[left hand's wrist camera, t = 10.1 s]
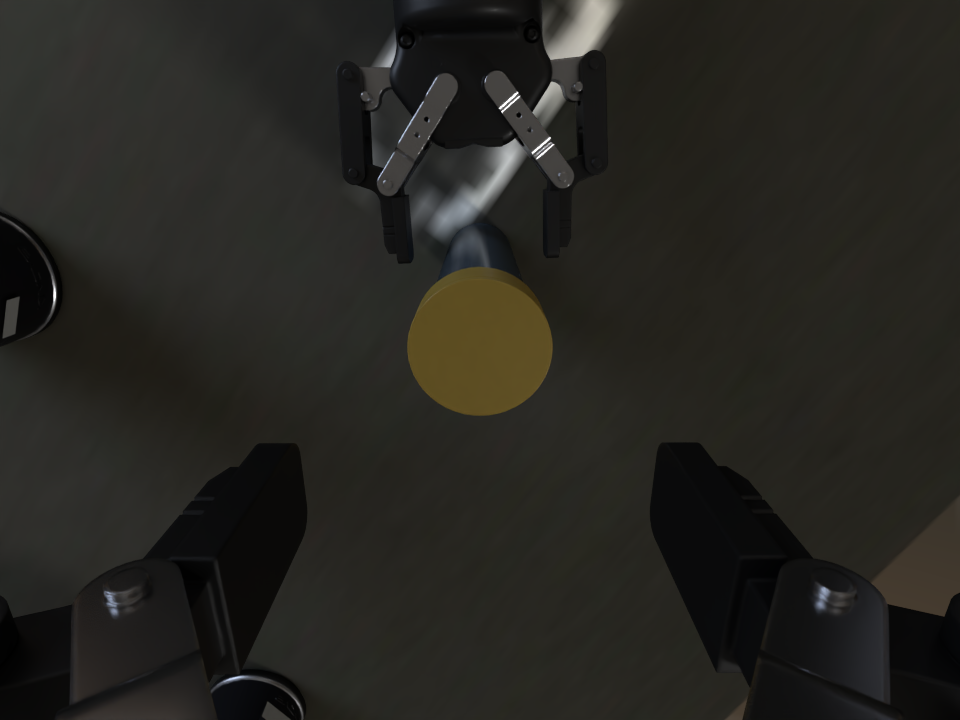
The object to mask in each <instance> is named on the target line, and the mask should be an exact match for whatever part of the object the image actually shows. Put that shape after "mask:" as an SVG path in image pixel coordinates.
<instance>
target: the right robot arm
mask: <svg viewBox="0 0 960 720" xmlns="http://www.w3.org/2000/svg"><path fill="white" fill-rule="evenodd" d="M393 5H394V17H395V29H396V41H397V48H396V55H395V58H394V61H393V64H392V66H391V68H384V67H358V66H357V65H355V64H354V63H352V62H350V61H344V62H342V63H341V64H339V66H338V67H337V70H336V79H337V94H338V110H339V125H340V141H341V157H342V172H343V177H344V179H345V180H346V181H347V182H348V183H349V184H352V185H358V186H361V187H364V188H367V189H370V190H372V191H374V192H375V193H376V194H377V195H378V197H379V199H380V203H381V213H382V223H383V233H384V242H385V247H386V249H387V251H388V252H389V254H395V253H397V260H398V263H399V264H402V263H411V262H412V260H413V257H414V252H413V240H412V228H411V216H410V204H409V195H405V192H404V187H405V185H406V184H407V182H408V180H409V179H410V177H411V176H412V174H413V172H414V171H415V169H416V167H417V166H418V164H419V163H420V162H421V160H422V159H423V157H424V156H425V154H426V153H427V151H428V149H429V148H430V146H431V145H432V143H433V142H434V143H435V144H437V145H438V146H441V147H444V148H445V149H459V148H463V147H466V146H469V145H472V144H477V145H481V146H485V147H502V146H503V145H505V144H507V143H509V142H511V141H512V140H513V139H514V138H515V139H516V140H517V142H518V143H519V144H520V146H521V147H522V148H523V150H524V151H525V152H526V153H527V155H528V156H529V157H530V158H531V159H532V161H533V162H534V163H535V165H536V166H537V167H538V169H539V170H540V171H541V173H542V174H543V175H544V177H545V178H546V179H547V189H543V252H544V255H545V257H546V258H558V257H559V247H567V246H568V244H569V241H570V239H571V195H572V190H573V188H574V186H575V185H576V184H577V183H578V182H579V181H581V180H584V179H586V178H589V177H591V176H593V175H598V174H601V173H603V172H604V171H605V169H606V168H607V165H608V145H607V99H606V60H605V57H604V55H603V54H602V53H601V52H600V51H598V50H592V51H589V52H588V53H586V54H585V55H584V56H581V57H573V58H564V59H555V60H550V58H549V57H548V55H547V53H546V50H545V47H544V43H543V36H542V0H393ZM550 82H556V83H557V84H559V85H560V87H561V89H562V92H563V96H564V98H565V99H566V100H567V101H569V102H575V105H576V130H577V155H578V156H576V157H574V158H571V159H569V160H567V161H566V160H565V159H564V158H563V156H562V155H561V153H560V152H559V151H558V149H557V148H556V147H555V145H554V144H553V142H552V140H551V138H550V137H549V135H548V134H547V132H546V131H545V130H544V128H543V127H542V125H541V124H540V123H539V121H538V120H537V119H536V117H535V116H534V114H533V113H532V112H533V110H534V108H535V107H536V105H537V104H538V102H539V101H540V99H541V97H542V96H543V94H544V93H545V91H546V89H547V88H548V86H549V84H550ZM390 89H393V91H394V93H395V94H396V96H397V97H398V98H399V100H400V101H401V102H402V103H403V105H404V106H405V107H406V109H407V110H408V111H409V113H410V114H411V115H412V117H413V119H412V120H411V122H410V124H409V125H408V127H407V129H406V130H405V132H404V134H403V135H402V137H401V139H400V140H399V142H398V144H397V146H396V148H395V151H394V153H393V155H392V156H391V158H390V160H389V161H388V163H387V165H386V166H385V168H381V167H378V166H375V165H373V160H372V139H371V117H370V112H374V111H377V110H378V109H379V108H380V106H381V104H382V97H383V95H384V93H385V92H386V91H388V90H390ZM61 302H62V282H61V277H60V273H59V270H58V268H57V265H56V263H55V261H54V259H53V257H52V255H51V254H50V252H49V251H48V249H47V248H46V246H45V245H44V244H43V243H42V241H41V240H40V239H39V238H38V237H37V236H36V235H35V234H34V233H33V232H32V231H31V230H30V229H28V228H27V227H26V226H25V225H23V224H22V223H20V222H19V221H17V220H15V219H14V218H12V217H10V216H8V215H6V214H4V213H1V212H0V347H1V346H4V345H6V344H9V343H11V342H14V341H18V340H22V339H25V338H28V337H31V336H33V335H35V334H38V333H40V332H41V331H43V330H44V329H46V328H47V327H48V326H49V325H50V324H51V323H52V322H53V320H54V319H55V318H56V316H57V314H58V312H59V309H60V306H61Z"/></svg>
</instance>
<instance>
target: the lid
mask: <svg viewBox="0 0 960 720" xmlns="http://www.w3.org/2000/svg"><path fill="white" fill-rule="evenodd" d="M552 350H553V348H552V336H551V331H550V328H549V325H548V322H547V319H546V317H545V314H544V312H543V310H542V307H541V305H540V303H539V301H538V299H537V298H536V296H535V295H534V293H533V292H532V291H531V290H530V288H529V287H528V286H527V285H526V284H524V283H523V282H522V281H521V280H519V279H518V278H516V277H515V276H513V275H511V274H509V273H507V272H505V271H502V270H499V269H494V268H489V267H471V268H466V269H461V270H458V271H456V272H453V273H451V274H449V275H447V276H445V277H444V278H442V279H441V280H439V281H438V282H437V283H436V284H434V285H433V286H432V287H431V288H430V290H429V291H428V292H427V293H426V295H425V296H424V298H423V299H422V301H421V303H420V305H419V307H418V310H417V312H416V315H415V317H414V319H413V322H412V324H411V328H410V331H409V336H408V358H409V363H410V366H411V369H412V372H413V374H414V376H415V378H416V380H417V382H418V383H419V385H420V386H421V387H422V389H423V390H424V391H425V392H426V393H427V394H428V395H429V396H430V397H431V398H432V399H434V400H435V401H436V402H437V403H439V404H441V405H442V406H444V407H446V408H448V409H450V410H453V411H456V412H459V413H462V414H468V415H479V416H482V415H492V414H498V413H501V412H504V411H507V410H510V409H512V408H514V407H516V406H518V405H519V404H521V403H523V402H524V401H525V400H526V399H528V398H529V397H530V396H531V395H532V394H533V393H534V392H535V391H536V390H537V389H538V387H539V386H540V385H541V383H542V382H543V380H544V378H545V376H546V374H547V372H548V369H549V367H550V363H551V359H552Z"/></svg>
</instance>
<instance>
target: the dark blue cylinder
mask: <svg viewBox="0 0 960 720" xmlns="http://www.w3.org/2000/svg"><path fill="white" fill-rule="evenodd" d="M471 267H489V268H494V269H499V270H502V271H505V272H507V273H509V274H511V275H513V276H515V277H516V278H518V279H519V280H521V281H522V282H523V280H522V277H521V274H520V272H519V269H518V266H517V263H516V260H515V257H514V254H513V251H512V249H511V246H510V243H509V241H508V239H507V237H506V236H505V235H504V233H503V232H502V231H501V230H499V229H498V228H496V227H495V226H493V225H490V224H486V223H474V224H470V225H467V226H465V227H464V228H462V229H461V230H459V231H458V232H457V233H456V235H455V236H454V237H453V239H452V241H451V243H450V246H449V249H448V251H447V254H446V257H445V260H444V263H443V266H442V269H441V271H440V274H439V277H438V280H437V282H438V281H439V280H441V279H442V278H444V277H445V276H447V275H449V274H451V273H453V272H456V271H458V270H461V269H466V268H471Z"/></svg>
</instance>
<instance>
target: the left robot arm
mask: <svg viewBox="0 0 960 720" xmlns="http://www.w3.org/2000/svg"><path fill="white" fill-rule="evenodd" d="M650 521H651V527H652V532H653V535H654V538H655V540H656V542H657V544H658V546H659V549H660V551H661V553H662V555H663V557H664V559H665V562H666V564H667V566H668V568H669V570H670V572H671V575H672V577H673V579H674V581H675V583H676V585H677V588H678V590H679V592H680V594H681V596H682V598H683V601H684V603H685V605H686V607H687V609H688V612H689V614H690V616H691V618H692V620H693V622H694V625H695V627H696V629H697V631H698V633H699V635H700V638H701V640H702V642H703V644H704V646H705V648H706V651H707V653H708V655H709V657H710V659H711V662H712V664H713V666H714V668H715V670H716V672H717V673H743V675H744V677H745V679H746V681H747V683H748V685H749V687H750V691H749V695H748V699H747V703H746V708H745V711H744V716H743V720H960V593H958V594H956V595H955V596H953V598H952V599H951V601H950V604H949V606H948V609H947V611H946V614H945V617H943V616H938V615H934V614H929V613H925V612H920V611H916V610H911V609H907V608H902V607H898V606H893V605H889V604H887V603H886V600H885V598H884V597H883V596H882V594H881V593H880V592H879V591H878V589H877V588H876V587H875V586H874V585H872V584H871V583H870V582H869V581H868V580H866V579H865V578H863V577H862V576H860V575H859V574H857V573H855V572H853V571H852V570H849V569H847V568H845V567H843V566H840V565H838V564H835V563H832V562H828V561H825V560H820V559H813V557H812V556H811V555H810V554H809V553H808V551H807V550H806V549H805V548H804V547H803V545H802V544H801V543H800V542H799V541H798V539H797V538H796V537H795V536H794V535H793V533H792V532H791V531H790V530H789V529H788V527H787V526H786V525H785V524H784V523H783V521H782V520H781V519H780V518H779V517H778V515H777V514H774V513H773V509H772V508H771V507H770V506H769V505H768V503H767V502H766V501H765V500H762V496H761V495H760V494H759V493H758V491H757V490H756V489H755V488H754V487H753V485H752V484H751V483H750V482H749V481H748V480H747V479H746V478H744V477H742V476H741V475H739V474H738V473H736V472H735V471H733V470H732V469H730V468H728V467H727V466H717V465H716V463H715V462H714V461H713V460H712V458H711V457H710V456H709V454H708V453H707V452H706V450H705V449H704V448H703V447H702V445H701V444H699V443H661V444H660V445H659V447H658V451H657V456H656V464H655V472H654V480H653V488H652V496H651V503H650ZM306 523H307V503H306V495H305V487H304V479H303V472H302V464H301V456H300V451H299V448H298V446H297V445H296V444H295V443H259V444H257V445H256V446H255V447H254V448H253V450H252V451H251V452H250V454H249V455H248V456H247V457H246V459H245V460H244V461H243V463H242V464H241V465H240V466H239V467H230V468H228V469H227V470H225V471H224V472H222V473H220V474H219V475H217V476H216V477H214V478H213V479H211V480H209V481H208V482H207V483H206V485H205V486H204V487H203V488H202V489H201V491H200V492H199V493H198V494H197V495H196V496H195V500H194V501H191V502H190V504H189V505H188V506H187V507H186V508H185V510H184V511H183V515H179V517H178V518H177V519H176V520H175V521H174V523H173V524H172V525H171V526H170V527H169V529H168V530H167V531H166V532H165V533H164V535H163V536H162V537H161V538H160V539H159V540H158V542H157V543H156V544H155V545H154V546H153V548H152V549H151V550H150V551H149V552H148V554H147V555H146V556H145V557H144V558H143V559H140V560H135V561H132V562H128V563H125V564H122V565H120V566H117V567H115V568H113V569H111V570H108V571H107V572H105V573H103V574H101V575H100V576H98V577H97V578H95V579H94V580H92V581H91V582H90V583H89V584H88V585H86V586H85V587H84V588H83V589H82V591H81V592H80V593H79V594H78V595H77V597H76V598H75V600H74V603H73V605H69V606H65V607H61V608H56V609H52V610H47V611H43V612H38V613H34V614H29V615H25V616H20V617H16V618H13V616H12V614H11V611H10V609H9V606H8V603H7V601H6V600H5V599H4V598H3V597H2V596H0V720H304V718H305V714H306V705H305V701H304V698H303V696H302V694H301V693H300V691H299V690H298V689H297V688H296V687H295V686H294V685H293V684H292V683H290V682H289V681H288V680H286V679H284V678H283V677H281V676H278V675H276V674H273V673H270V672H266V671H261V670H242V668H243V666H244V663H245V661H246V659H247V657H248V655H249V653H250V651H251V648H252V646H253V644H254V642H255V640H256V638H257V636H258V633H259V631H260V629H261V627H262V625H263V623H264V620H265V618H266V616H267V614H268V612H269V610H270V608H271V605H272V603H273V601H274V599H275V597H276V595H277V593H278V590H279V588H280V586H281V584H282V582H283V580H284V578H285V575H286V573H287V571H288V569H289V567H290V565H291V563H292V560H293V558H294V556H295V554H296V552H297V550H298V548H299V545H300V543H301V541H302V539H303V536H304V533H305V529H306ZM213 675H225V676H223V677H221V678H220V679H219V680H217V681H216V682H215V684H214V685H213V686H212V688H211V690H210V687H209V682H210V680H211V678H212V676H213Z"/></svg>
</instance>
